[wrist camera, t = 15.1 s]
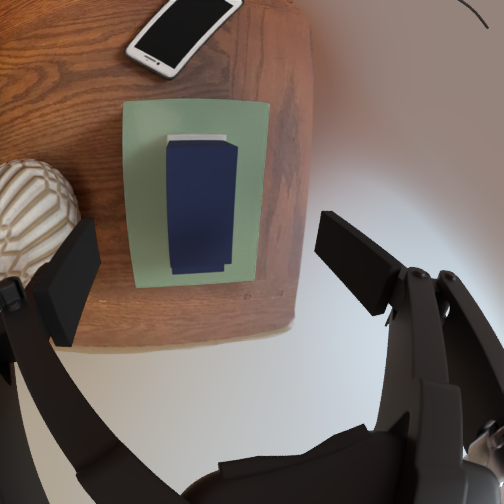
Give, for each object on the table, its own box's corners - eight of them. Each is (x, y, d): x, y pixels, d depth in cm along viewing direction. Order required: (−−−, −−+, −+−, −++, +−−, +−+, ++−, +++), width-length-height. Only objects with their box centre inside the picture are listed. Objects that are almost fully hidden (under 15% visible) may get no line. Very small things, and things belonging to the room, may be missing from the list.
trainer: (167, 133, 23) (163, 139, 16) (223, 133, 24) (241, 139, 17) (170, 258, 29) (171, 304, 22) (218, 256, 30) (232, 299, 23)
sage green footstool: (249, 106, 31) (270, 102, 24) (239, 250, 40) (254, 280, 33) (135, 105, 27) (123, 101, 20) (141, 255, 36) (135, 288, 29)
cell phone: (245, 3, 23) (247, 0, 22) (171, 83, 27) (171, 82, 26) (198, -24, 20) (199, -27, 19) (122, 55, 23) (120, 53, 22)
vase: (107, 248, 34) (68, 359, 17) (24, 268, 31) (-32, 361, 14) (80, 134, 26) (-16, 163, 9) (-7, 171, 23) (-99, 226, 6)
